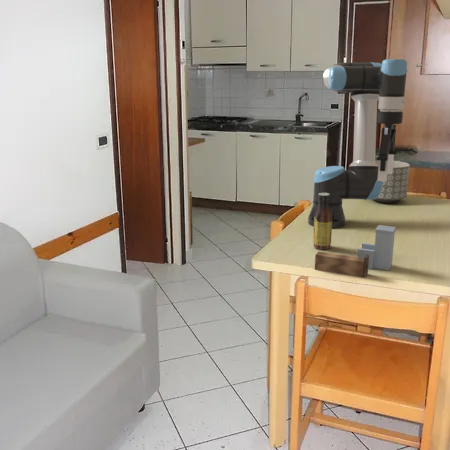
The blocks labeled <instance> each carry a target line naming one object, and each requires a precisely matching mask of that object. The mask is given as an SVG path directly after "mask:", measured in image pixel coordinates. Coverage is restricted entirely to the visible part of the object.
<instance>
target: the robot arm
mask: <svg viewBox="0 0 450 450" xmlns="http://www.w3.org/2000/svg"><path fill="white" fill-rule="evenodd" d="M407 73H408V61H407V59H405V58H403V59H402V58H391V59H390V58H389V59H388V58H387V59H383V60H382V61H381V63H380V62H372V61H367V62H363V61H362V62H339V63H335V64H332V65H330V66H328V67H327V68H326V69H325V70H324V71H323V74H322V83H323V85H324V87H325V88H327V89H328V90H330V91H332V92H335V93H341V94H342V93H344V94H345V93H347V94H349V93H350V94H351V95H350V98H351V99H352V100H353V101H354V118H353V119H354V120H353V121H354V122H353V124H354V125H353V151H352V152H353V156H352V162H351V163H350V164H349V165H348V166H349V167H348V169H345V167H344V166H342V165H329V166H324V167H320V168H318V169H317V170H315V172H314V178H313V201H312V202H313V203H312V207H311V209H310V212H309V214H308V216H307V217H308V218H307V222H308V224H309V225H310V226H313V227H314V215H315V212H316V210H317V207H318V200H319V198H318V194H319V193H329V194H330V199H329V208H330V210H331V212H332V229H338V228H341V227H345V226H346V215H345V213H344V212H345V211H344V209H343V200H364V201H367V200H374V199H376V198H377V197H378V196H379V194H380V192H381V188H382V183H383V181H385V182H386V181H387V174H392V172H393V161H395V160H394V158H395V157H394V156H395V155H397V151H396V133H397V129H396V127H397V125H401V124H402V123H403V116H404V112H403V111H402V110H403V109H404V104H406V103H407V100H406V99H405V94H406V93H405V92H406V84H407V83H406V82H407ZM377 123H378V124H383V125H384V127H382V128H381V136H380V137H381V138H380V145H379V150H378V151H379V152H378V156H376V144H377V143H376V141H377ZM375 161H379V166H378V164H377V163H376V162H375Z"/></svg>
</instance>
